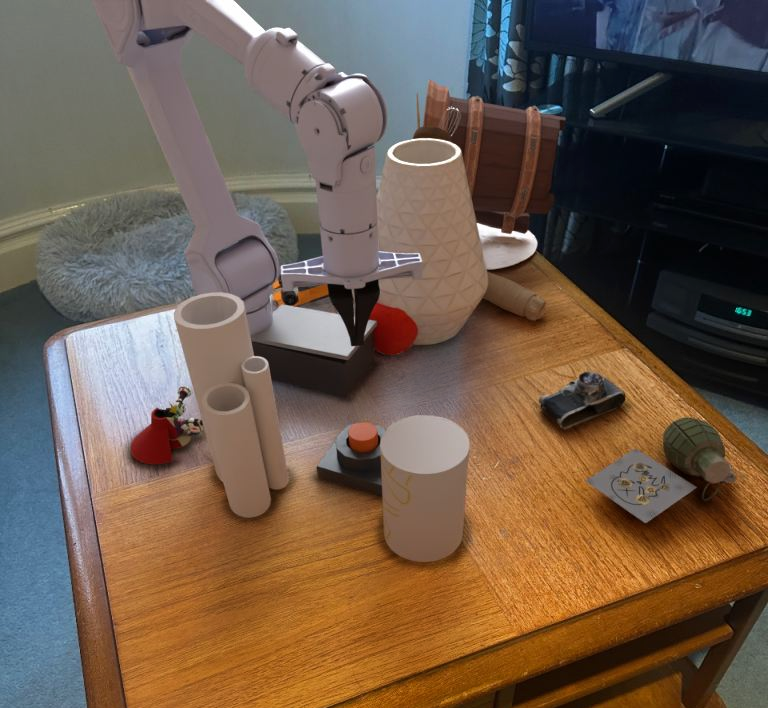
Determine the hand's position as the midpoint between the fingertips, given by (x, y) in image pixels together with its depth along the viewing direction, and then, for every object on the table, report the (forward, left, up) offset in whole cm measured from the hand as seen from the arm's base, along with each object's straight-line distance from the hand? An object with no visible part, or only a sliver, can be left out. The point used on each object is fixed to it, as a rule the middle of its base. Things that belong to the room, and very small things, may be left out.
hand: (356, 340), depth 80 cm
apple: (-3, +15, -11) cm, 19 cm away
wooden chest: (-10, +42, +3) cm, 44 cm away
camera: (+24, +11, -11) cm, 29 cm away
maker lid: (-9, +6, -5) cm, 12 cm away
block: (+4, -8, -10) cm, 14 cm away
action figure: (-19, -13, -11) cm, 25 cm away
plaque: (-2, +48, -8) cm, 48 cm away
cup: (+14, -15, -11) cm, 23 cm away
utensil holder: (-4, +28, +5) cm, 29 cm away
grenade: (+36, +9, -9) cm, 38 cm away
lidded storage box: (-10, +6, -10) cm, 16 cm away
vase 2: (-1, +21, -10) cm, 24 cm away
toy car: (-19, +23, -7) cm, 30 cm away
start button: (+4, -8, -7) cm, 12 cm away
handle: (+14, +28, -9) cm, 33 cm away
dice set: (+33, -2, -8) cm, 34 cm away
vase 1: (-6, -15, -11) cm, 19 cm away
